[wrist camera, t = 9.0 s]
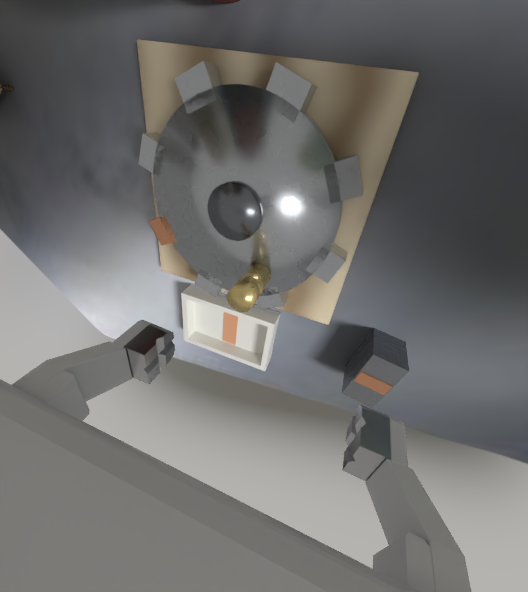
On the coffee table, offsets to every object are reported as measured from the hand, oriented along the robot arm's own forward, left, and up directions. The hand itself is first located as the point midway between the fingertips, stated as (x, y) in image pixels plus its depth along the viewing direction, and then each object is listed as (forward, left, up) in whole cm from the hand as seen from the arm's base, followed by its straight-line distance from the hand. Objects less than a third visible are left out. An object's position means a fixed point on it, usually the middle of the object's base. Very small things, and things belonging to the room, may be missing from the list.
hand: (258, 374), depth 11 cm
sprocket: (+8, -1, -17) cm, 19 cm away
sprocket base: (+8, -1, -18) cm, 20 cm away
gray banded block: (-9, +13, -19) cm, 24 cm away
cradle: (+9, +16, -19) cm, 26 cm away
